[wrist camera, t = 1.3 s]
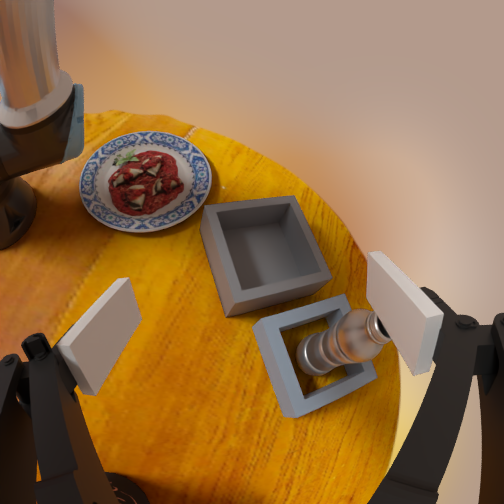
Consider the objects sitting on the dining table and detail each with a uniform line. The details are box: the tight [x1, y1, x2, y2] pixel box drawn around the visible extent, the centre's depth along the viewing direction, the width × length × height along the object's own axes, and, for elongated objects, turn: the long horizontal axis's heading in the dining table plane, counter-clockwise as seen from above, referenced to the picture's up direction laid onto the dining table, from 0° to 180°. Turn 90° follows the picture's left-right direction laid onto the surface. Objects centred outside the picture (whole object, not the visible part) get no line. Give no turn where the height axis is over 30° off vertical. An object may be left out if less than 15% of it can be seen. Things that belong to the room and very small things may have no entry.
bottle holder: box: [252, 293, 378, 418], centre depth 43 cm, size 15×15×5 cm
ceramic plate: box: [79, 131, 212, 232], centre depth 52 cm, size 26×26×3 cm
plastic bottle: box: [296, 309, 392, 376], centre depth 36 cm, size 6×7×20 cm
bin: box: [200, 195, 332, 318], centre depth 48 cm, size 16×16×7 cm
